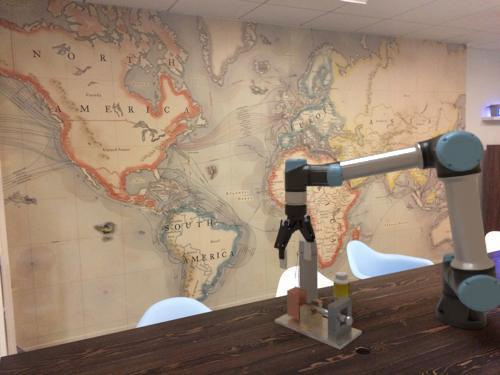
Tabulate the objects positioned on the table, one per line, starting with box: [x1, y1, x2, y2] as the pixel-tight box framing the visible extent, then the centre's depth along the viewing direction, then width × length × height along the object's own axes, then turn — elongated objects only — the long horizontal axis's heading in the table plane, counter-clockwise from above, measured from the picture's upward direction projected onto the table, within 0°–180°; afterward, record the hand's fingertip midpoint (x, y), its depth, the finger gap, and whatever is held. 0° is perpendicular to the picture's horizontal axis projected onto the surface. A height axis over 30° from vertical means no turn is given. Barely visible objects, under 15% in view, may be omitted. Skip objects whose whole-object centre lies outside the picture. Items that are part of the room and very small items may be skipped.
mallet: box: [286, 286, 354, 325], centre depth 117 cm, size 24×5×9 cm, turn 45°
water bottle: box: [294, 237, 319, 304], centre depth 140 cm, size 9×8×25 cm
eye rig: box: [274, 296, 363, 350], centre depth 118 cm, size 26×13×12 cm, turn 45°
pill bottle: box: [333, 271, 350, 301], centre depth 141 cm, size 6×6×11 cm
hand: (295, 263), depth 123 cm, fingers open, 13 cm apart
